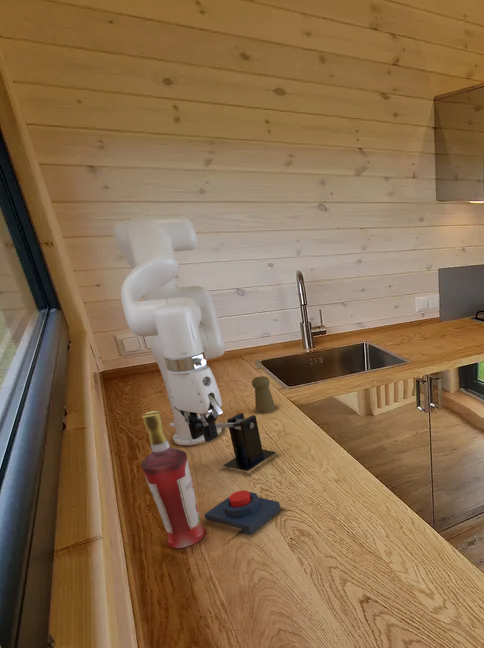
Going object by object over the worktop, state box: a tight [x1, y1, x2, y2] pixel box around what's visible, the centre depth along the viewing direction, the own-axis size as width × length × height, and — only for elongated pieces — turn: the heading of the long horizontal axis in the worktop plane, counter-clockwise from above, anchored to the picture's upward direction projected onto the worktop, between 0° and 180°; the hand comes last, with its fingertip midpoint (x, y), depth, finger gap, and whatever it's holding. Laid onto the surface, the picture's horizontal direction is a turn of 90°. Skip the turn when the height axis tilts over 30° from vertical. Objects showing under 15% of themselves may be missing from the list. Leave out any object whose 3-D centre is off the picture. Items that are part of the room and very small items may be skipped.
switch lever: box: [194, 418, 245, 433], centre depth 117 cm, size 15×3×3 cm, turn 159°
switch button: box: [228, 490, 251, 507], centre depth 103 cm, size 4×4×2 cm
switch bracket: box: [223, 412, 277, 472], centre depth 124 cm, size 10×8×13 cm
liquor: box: [140, 410, 207, 549], centre depth 92 cm, size 7×7×28 cm
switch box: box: [204, 491, 282, 536], centre depth 104 cm, size 12×9×4 cm
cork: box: [251, 375, 276, 414], centre depth 156 cm, size 6×6×11 cm
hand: (205, 437), depth 112 cm, fingers closed on switch lever, 3 cm apart
